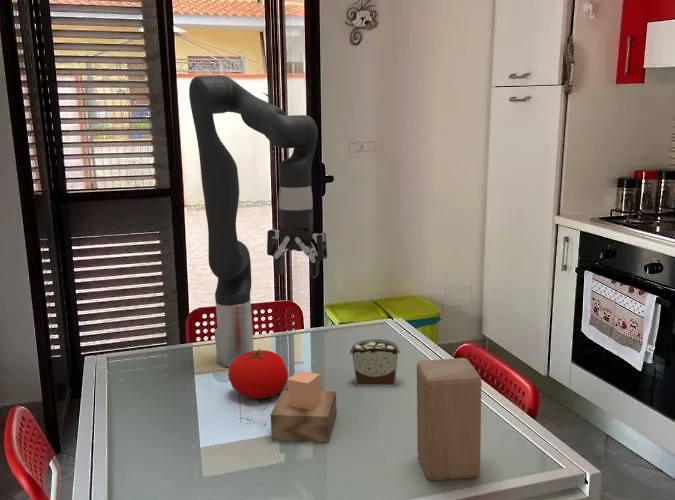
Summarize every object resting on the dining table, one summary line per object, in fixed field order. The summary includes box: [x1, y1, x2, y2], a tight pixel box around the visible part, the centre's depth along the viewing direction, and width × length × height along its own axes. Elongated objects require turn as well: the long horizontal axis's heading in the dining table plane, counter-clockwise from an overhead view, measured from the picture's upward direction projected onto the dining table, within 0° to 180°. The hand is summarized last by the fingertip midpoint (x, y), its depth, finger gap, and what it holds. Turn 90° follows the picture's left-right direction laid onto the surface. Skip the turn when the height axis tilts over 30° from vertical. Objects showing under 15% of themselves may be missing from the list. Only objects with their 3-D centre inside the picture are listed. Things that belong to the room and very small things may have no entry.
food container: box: [349, 338, 401, 387], centre depth 163 cm, size 12×6×10 cm, turn 84°
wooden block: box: [416, 357, 482, 482], centre depth 122 cm, size 10×10×20 cm
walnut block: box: [270, 389, 338, 443], centre depth 141 cm, size 12×12×6 cm
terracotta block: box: [287, 370, 322, 410], centre depth 140 cm, size 5×5×6 cm
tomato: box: [228, 348, 289, 400], centre depth 158 cm, size 14×13×10 cm
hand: (297, 275), depth 152 cm, fingers open, 8 cm apart
